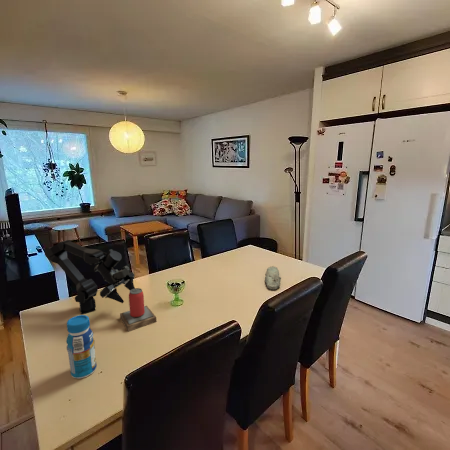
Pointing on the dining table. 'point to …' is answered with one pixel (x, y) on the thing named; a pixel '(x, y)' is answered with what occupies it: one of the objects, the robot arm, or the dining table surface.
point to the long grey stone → (272, 278)
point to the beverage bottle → (80, 347)
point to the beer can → (136, 302)
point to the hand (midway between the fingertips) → (129, 297)
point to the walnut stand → (137, 319)
